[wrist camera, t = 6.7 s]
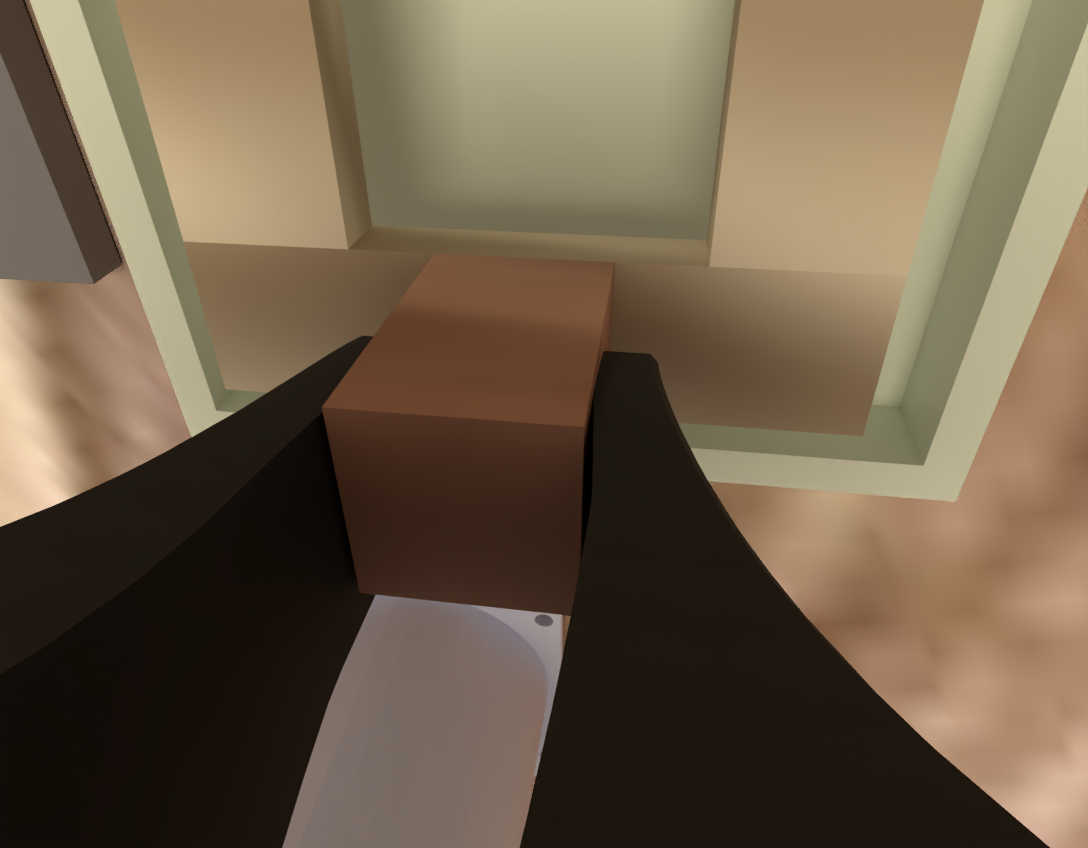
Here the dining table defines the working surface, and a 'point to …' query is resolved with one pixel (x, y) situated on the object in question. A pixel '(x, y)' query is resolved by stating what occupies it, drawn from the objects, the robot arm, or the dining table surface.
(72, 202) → the stake board
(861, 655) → the dining table surface
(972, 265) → the sage tray
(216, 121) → the tan square frame
